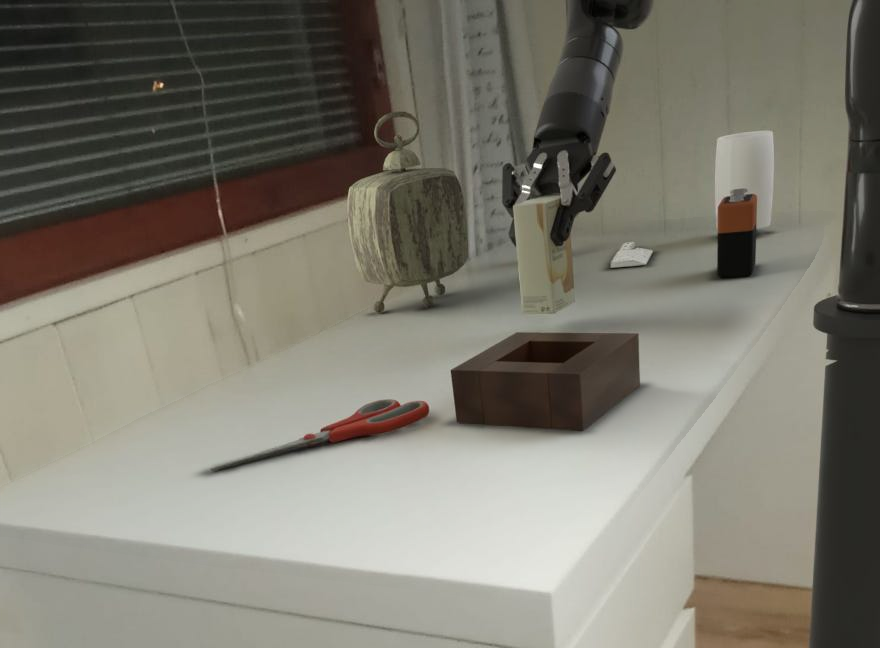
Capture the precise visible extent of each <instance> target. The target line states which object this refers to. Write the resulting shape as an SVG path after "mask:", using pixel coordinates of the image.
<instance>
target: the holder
mask: <svg viewBox="0 0 880 648" xmlns="http://www.w3.org/2000/svg"><path fill="white" fill-rule="evenodd" d="M639 336H640V335H639V333H638V332H533V331H532V332H531V331H529V332H528V331H527V332H525V331H524V332H522V331H519V332H518V331H517V332H514V333H513V334H511V335H509V336H508V337H506V338H504V339H502V340H501V341H499V342H497V343H495V344H493V345H492V346H490V347H487V348H486V349H484V350H483V351H481V352H480V353H478V354H476V355H475V356H472V357H470V358H469V359H467V360H466V361H464V362H462V363H460V364H458V365H457V366H455V367H453V368H452V369H450V378H451V385H452V393H453V402H454V410H455V419H456V423H459V424H472V425H474V424H476V425H491V426H503V427H504V426H505V427H520V428H535V429H552V430H564V431H565V430H566V431H579V432H583V431H585V430H586V429H587V428H589V427H590V426H591V425H592V424H594V423H595V422H596V421H597V420H599V419H600V418H601V417H602V416H603V415H605V414H606V413H607V412H609V411H610V410H611V409H613V408H614V407H615V406H616V405H618V404H619V403H620V402H622V401H623V400H624V399H626V398H627V397H628V396H629V395H630V394H631V393H632V392H634V391H635V390H637V389H638V388H639V387H640V386H641V374H640V373H641V372H640V340H639V339H640V338H639Z"/></svg>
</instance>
